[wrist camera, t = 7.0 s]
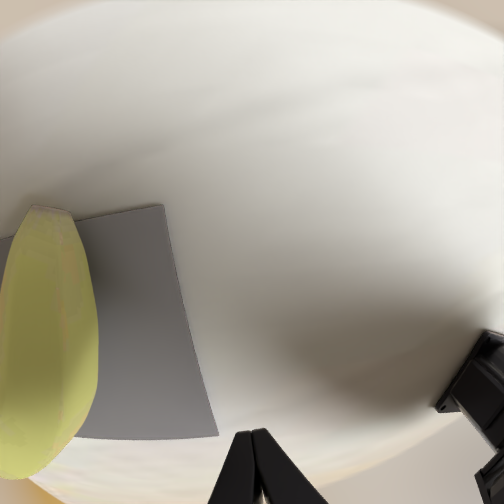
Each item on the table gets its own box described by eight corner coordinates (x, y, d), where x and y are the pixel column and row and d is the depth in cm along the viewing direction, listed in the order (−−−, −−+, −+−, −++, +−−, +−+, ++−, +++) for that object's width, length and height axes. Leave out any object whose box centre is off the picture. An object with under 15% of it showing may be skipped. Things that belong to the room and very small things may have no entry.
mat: (163, 204, 11) (162, 205, 10) (218, 433, 14) (219, 435, 14) (-26, 247, 10) (-29, 248, 10) (61, 433, 14) (60, 435, 13)
